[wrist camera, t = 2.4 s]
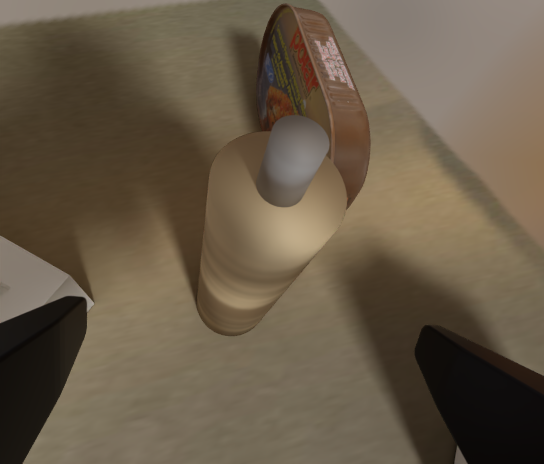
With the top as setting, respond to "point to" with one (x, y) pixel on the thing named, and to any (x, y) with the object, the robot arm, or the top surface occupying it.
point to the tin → (313, 88)
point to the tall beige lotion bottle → (265, 220)
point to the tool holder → (30, 282)
